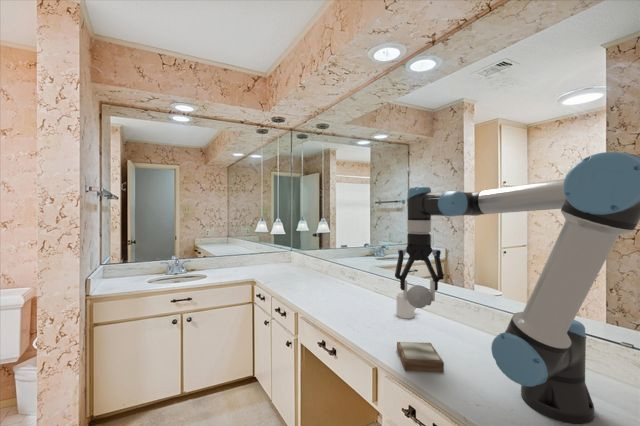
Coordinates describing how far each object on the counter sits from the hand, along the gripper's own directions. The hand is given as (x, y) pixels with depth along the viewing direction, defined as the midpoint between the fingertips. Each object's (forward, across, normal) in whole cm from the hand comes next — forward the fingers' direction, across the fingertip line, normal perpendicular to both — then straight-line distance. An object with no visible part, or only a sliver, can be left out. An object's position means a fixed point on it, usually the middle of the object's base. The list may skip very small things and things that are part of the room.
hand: (418, 299), depth 102 cm
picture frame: (+21, 0, 0) cm, 21 cm away
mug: (+21, -6, -44) cm, 49 cm away
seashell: (+3, 0, -2) cm, 3 cm away
